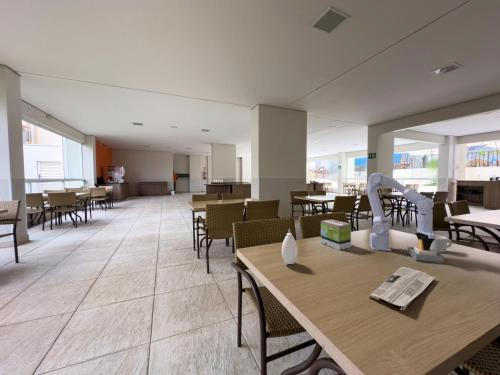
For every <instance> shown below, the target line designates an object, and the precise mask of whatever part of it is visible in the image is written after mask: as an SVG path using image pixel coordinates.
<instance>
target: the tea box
mask: <svg viewBox="0 0 500 375" xmlns="http://www.w3.org/2000/svg"><path fill="white" fill-rule="evenodd" d="M320 243H321V244H323V245H325V244H326V246H328V247H330V246H331V247H330V248H333V249H336V250H337V249H338V251H342V250H341V249H343V250H346V249H345V248H347V249H350V248H351V247H352V224H351V223H348V222H344V221H339V220H336V219H332V218H331V219H326V220H320Z"/></svg>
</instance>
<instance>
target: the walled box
mask: <svg viewBox="0 0 500 375" xmlns="http://www.w3.org/2000/svg"><path fill="white" fill-rule="evenodd" d="M406 247H407V249H406V250H407V252H406V253H407V255H408V256H410V257H411V258H412V259H413V260H414V261H415V262H421V263H434V264H445V256H444V255H443V254H441V253H439V252H437V251H435V250H434V249H431V248H430V251H421V250H419V249H418V246H406Z"/></svg>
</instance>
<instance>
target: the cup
mask: <svg viewBox="0 0 500 375" xmlns="http://www.w3.org/2000/svg"><path fill="white" fill-rule="evenodd" d="M434 235H435V240H434V241H433V242H432V244H431V247H430V248H431V249H434V250H435V251H437V252H438V253H440V254H441V253H442V254H443V253H446V251H447V248H450V247H452V246H453V241H452V240H451V238H448V237H446V236H444V235H437V234H434Z"/></svg>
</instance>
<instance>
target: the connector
mask: <svg viewBox="0 0 500 375" xmlns="http://www.w3.org/2000/svg"><path fill="white" fill-rule="evenodd" d="M417 241H418V240H417ZM417 247H418V249H419V250H421V251H430V250H424V249H423V243H422V240H421V239H419V241H418V246H417Z"/></svg>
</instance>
